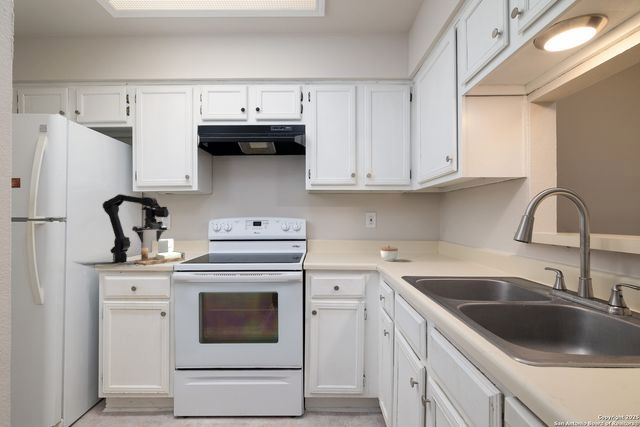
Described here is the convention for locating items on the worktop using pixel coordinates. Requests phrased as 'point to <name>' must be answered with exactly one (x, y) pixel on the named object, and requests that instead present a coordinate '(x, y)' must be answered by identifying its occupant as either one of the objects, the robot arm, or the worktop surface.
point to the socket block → (167, 256)
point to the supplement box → (165, 246)
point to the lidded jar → (389, 253)
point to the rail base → (155, 261)
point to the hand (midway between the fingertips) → (150, 241)
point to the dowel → (144, 253)
